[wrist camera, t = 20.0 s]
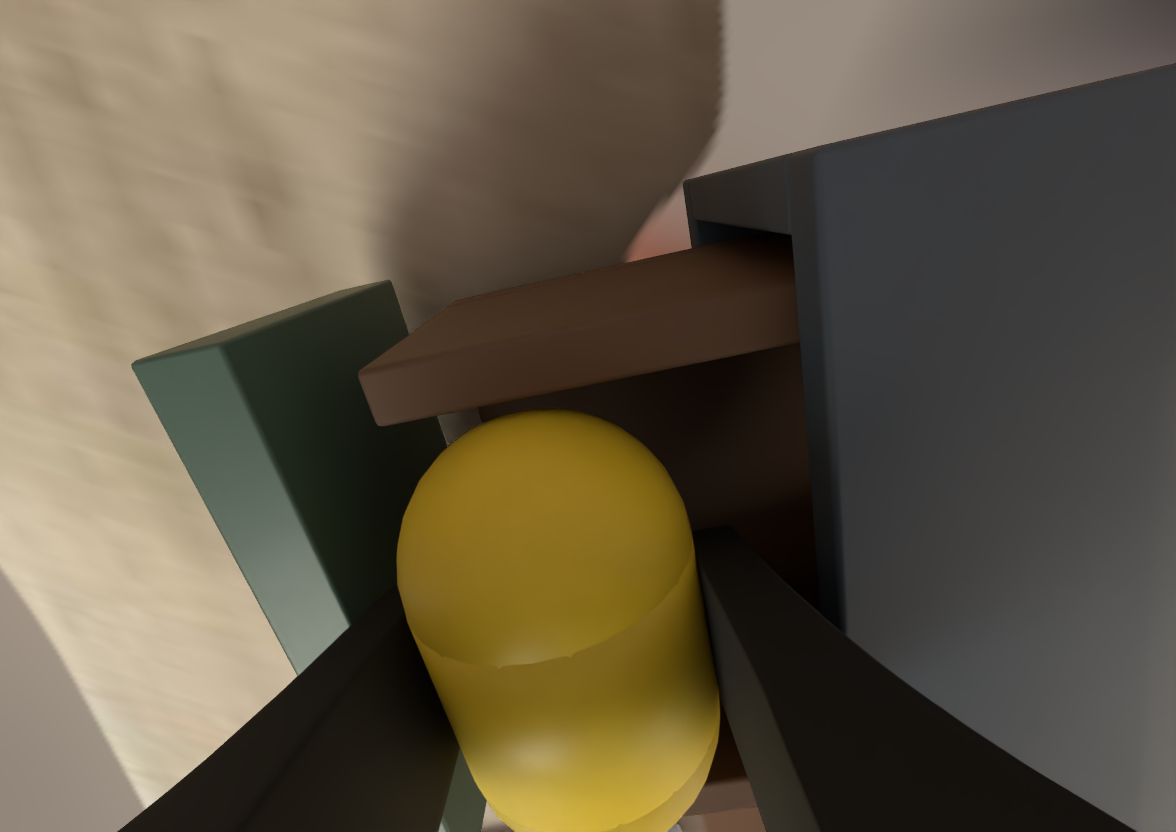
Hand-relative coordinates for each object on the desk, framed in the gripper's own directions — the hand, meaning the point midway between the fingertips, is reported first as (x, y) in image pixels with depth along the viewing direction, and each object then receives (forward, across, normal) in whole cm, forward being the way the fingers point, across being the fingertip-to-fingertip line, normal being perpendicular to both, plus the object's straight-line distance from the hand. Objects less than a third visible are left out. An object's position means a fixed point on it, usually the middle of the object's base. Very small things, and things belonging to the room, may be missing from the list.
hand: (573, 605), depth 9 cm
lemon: (+1, 0, 0) cm, 1 cm away
